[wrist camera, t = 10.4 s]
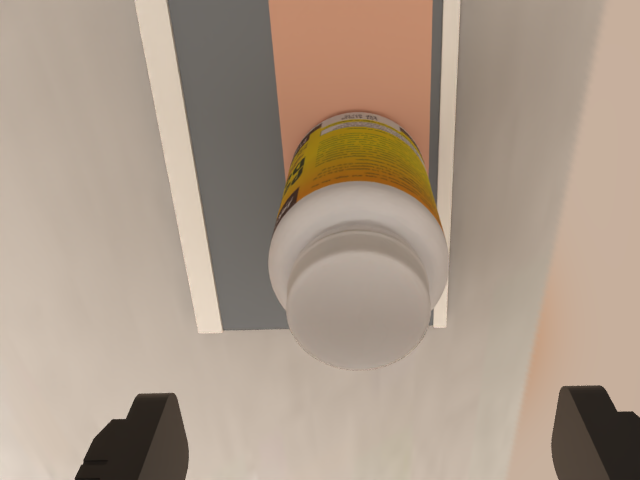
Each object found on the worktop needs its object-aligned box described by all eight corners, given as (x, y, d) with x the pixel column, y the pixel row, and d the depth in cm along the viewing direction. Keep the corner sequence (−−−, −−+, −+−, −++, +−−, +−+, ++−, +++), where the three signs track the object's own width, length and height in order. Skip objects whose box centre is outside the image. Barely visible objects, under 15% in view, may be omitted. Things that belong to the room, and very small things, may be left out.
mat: (202, 321, 30) (198, 333, 30) (138, -23, 23) (130, -21, 22) (443, 315, 30) (446, 327, 29) (457, -44, 22) (462, -43, 21)
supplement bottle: (292, 102, 24) (256, 214, 15) (432, 112, 24) (481, 231, 15) (288, 227, 27) (255, 386, 18) (414, 236, 27) (445, 401, 18)
